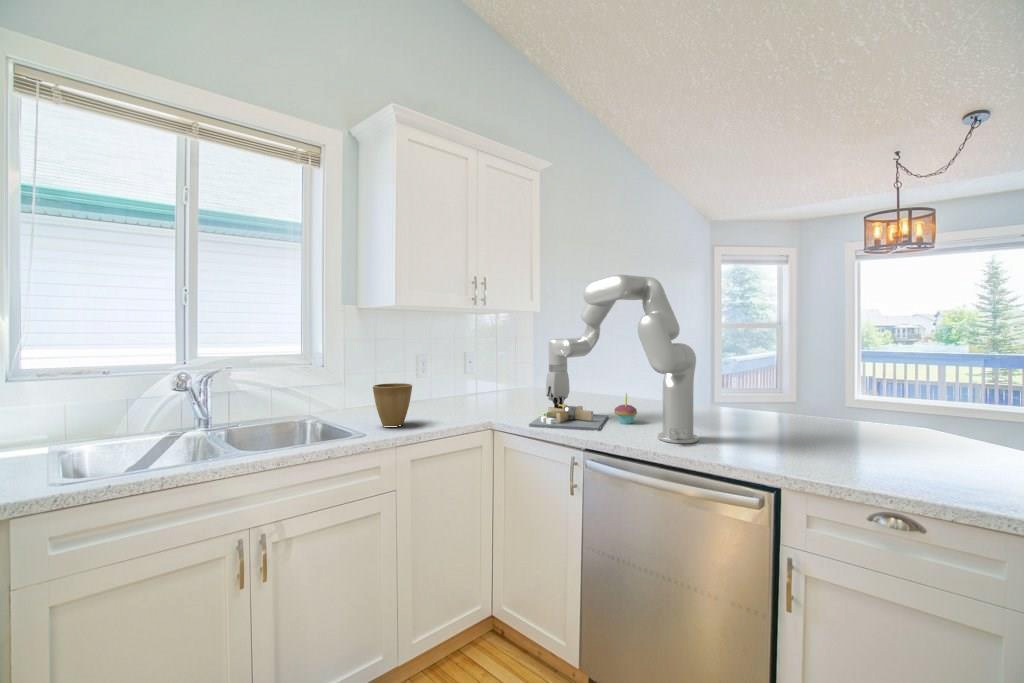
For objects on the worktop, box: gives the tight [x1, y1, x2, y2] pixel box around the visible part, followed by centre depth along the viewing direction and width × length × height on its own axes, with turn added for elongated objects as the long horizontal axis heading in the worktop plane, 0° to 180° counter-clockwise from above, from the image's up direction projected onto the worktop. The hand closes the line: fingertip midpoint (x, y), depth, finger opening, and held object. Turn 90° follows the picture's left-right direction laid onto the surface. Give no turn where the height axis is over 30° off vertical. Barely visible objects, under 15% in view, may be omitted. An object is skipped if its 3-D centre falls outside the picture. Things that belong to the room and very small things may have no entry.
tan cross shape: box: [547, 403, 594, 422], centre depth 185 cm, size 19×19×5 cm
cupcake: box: [614, 392, 638, 425], centre depth 181 cm, size 9×8×12 cm
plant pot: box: [372, 382, 413, 427], centre depth 181 cm, size 15×15×16 cm
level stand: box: [528, 411, 609, 431], centre depth 185 cm, size 26×26×3 cm
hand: (558, 413), depth 191 cm, fingers closed
